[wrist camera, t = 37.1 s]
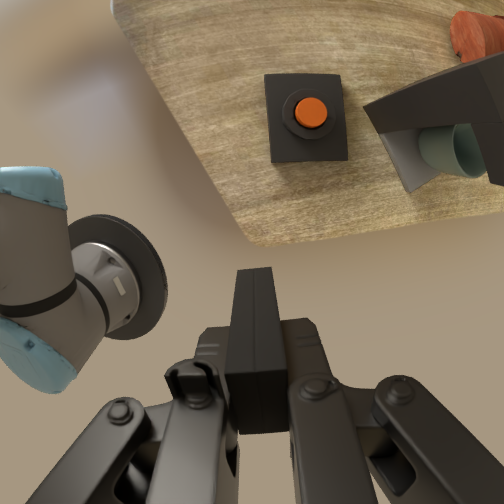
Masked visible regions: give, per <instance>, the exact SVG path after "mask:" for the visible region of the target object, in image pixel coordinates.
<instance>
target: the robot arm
mask: <svg viewBox="0 0 504 504" xmlns="http://www.w3.org/2000/svg"><path fill="white" fill-rule="evenodd" d="M66 210H67V205H66V203H65V195H64V187H63V179H62V177H61V175H60V173H59V172H58V171H57V170H55V169H53V168H49V167H1V168H0V357H1V359H2V360H3V361H4V363H5V364H6V365H7V366H8V367H9V368H10V369H11V370H12V371H13V372H14V373H15V374H16V375H17V376H18V377H19V378H20V379H21V380H23V381H24V382H25V383H27V384H28V385H30V386H31V387H33V388H35V389H37V390H39V391H41V392H44V393H48V394H57V393H61V392H62V391H64V389H65V388H66V387H67V386H68V385H69V383H70V382H71V381H72V380H74V379H75V378H76V377H77V375H78V373H79V372H80V370H81V369H82V367H83V366H84V364H85V363H86V361H87V360H88V359H89V357H90V356H91V354H92V353H93V351H94V350H95V349H96V347H97V346H98V344H99V343H100V342H101V340H102V339H103V337H104V336H105V335H106V334H107V333H109V332H111V331H113V330H115V329H117V328H119V327H121V326H123V325H125V324H127V323H128V322H129V321H130V320H131V319H132V318H133V317H134V315H135V314H136V313H137V311H138V309H139V307H140V305H141V301H142V286H141V281H140V278H139V275H138V273H137V271H136V269H135V267H134V265H133V264H132V262H131V261H130V260H129V258H128V257H127V256H126V255H125V254H124V253H123V252H122V251H120V250H119V249H118V248H116V247H115V246H113V245H111V244H109V243H107V242H103V241H98V240H92V241H87V242H84V243H82V244H81V245H79V246H77V247H76V248H74V249H73V250H72V251H71V247H70V240H69V233H68V224H67V214H66V213H67V212H66ZM164 377H165V379H166V382H167V384H168V387H169V389H170V391H171V394H172V396H173V400H172V401H170V402H167V403H164V404H160V405H155V406H149V407H143V406H142V404H141V403H140V402H139V401H138V400H136V399H134V398H130V397H121V398H116V399H114V400H112V401H109V402H108V403H107V404H106V405H104V406H103V407H102V409H101V410H100V411H99V412H98V413H97V415H96V416H95V417H94V418H93V419H92V421H91V422H90V423H89V424H88V426H87V427H86V428H85V429H84V431H83V432H82V433H81V434H80V435H79V437H78V438H77V439H76V440H75V442H74V443H73V444H72V445H71V447H70V448H69V449H68V450H67V451H66V453H65V454H64V455H63V456H62V458H61V459H60V460H59V461H58V463H57V464H56V465H55V467H54V468H53V469H52V470H51V471H50V473H49V474H48V475H47V476H46V478H45V479H44V480H43V482H42V483H41V484H40V485H39V487H38V488H37V489H36V490H35V492H34V493H33V494H32V495H31V497H30V498H29V499H28V501H27V502H26V503H25V504H238V485H239V457H240V449H239V445H238V441H237V435H238V430H239V434H240V435H246V434H262V433H263V434H264V433H275V432H286V431H289V432H290V453H291V458H292V468H293V478H294V487H295V498H296V504H378V500H377V497H376V494H375V490H374V486H373V482H372V479H371V475H370V473H371V474H372V476H373V477H374V479H375V480H376V482H377V483H378V485H379V486H380V488H381V489H382V491H383V492H384V494H385V495H386V497H387V498H388V500H389V501H390V503H391V504H504V466H503V465H502V464H501V463H500V462H499V461H498V460H497V459H496V458H495V457H494V456H493V455H492V454H491V453H490V452H489V451H488V450H487V449H486V448H485V447H484V446H483V445H482V444H481V443H480V442H479V441H478V440H477V439H476V437H475V436H474V435H473V434H472V433H471V432H470V431H469V430H468V429H467V428H466V427H465V426H464V425H462V423H461V422H460V421H458V419H457V418H456V417H454V416H453V415H452V413H451V412H449V410H447V409H446V408H445V407H444V406H443V405H442V404H441V403H440V402H439V401H438V400H437V399H436V398H435V397H434V396H433V395H432V394H431V393H430V392H429V391H428V390H427V389H426V388H425V387H424V386H423V385H422V384H421V383H420V382H418V381H417V380H415V379H414V378H412V377H408V376H404V375H394V376H390V377H387V378H385V379H383V380H382V381H381V382H379V383H378V385H377V387H376V388H375V389H360V388H352V387H348V386H345V385H343V384H342V383H340V382H339V380H338V379H337V378H335V377H334V376H333V375H332V372H331V370H330V367H329V363H328V360H327V357H326V355H325V351H324V348H323V345H322V344H321V340H320V337H319V334H318V331H317V328H316V325H315V324H314V323H313V322H311V321H310V320H309V319H308V318H300V319H290V320H281V321H280V318H279V311H278V306H277V299H276V293H275V286H274V280H273V274H272V268H271V267H264V268H254V269H244V270H238V271H237V277H236V284H235V292H234V300H233V308H232V315H231V323H230V326H225V327H211V328H207V329H206V330H205V331H204V332H203V333H202V334H201V335H200V337H199V340H198V344H197V348H196V351H195V356H194V358H193V359H185V360H183V361H180V362H178V363H175V364H174V365H173V366H171V367H170V368H169V369H168V370H167V372H166V373H165V375H164ZM369 471H370V472H369Z"/></svg>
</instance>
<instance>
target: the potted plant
mask: <svg viewBox="0 0 504 504" xmlns="http://www.w3.org/2000/svg"><path fill="white" fill-rule="evenodd" d="M450 37H451V42H452V46H453V49H454V51H455V54H456V55H457V56H459V57H460V58H461V60H460V61H462V62H463V63H466V62H469V61H472V60H476V59H479V58H482V57H485V56H488V55H492V54H495V53H498V52H502V51H504V16H498V15H495V16H488V15H484V14H479V13H474V12H469V11H459V12H458V13H456V14H455V16H454V17H453V18H452V21H451V24H450Z"/></svg>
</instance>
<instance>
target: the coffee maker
mask: <svg viewBox="0 0 504 504" xmlns="http://www.w3.org/2000/svg"><path fill="white" fill-rule="evenodd" d="M363 108H364V110H365V112H366V113H367V115H368V117H369V118H370V120H371V122H372V124H373V125H374V127H375V129H376V131H377V133H378V134H379V136H380V138H381V140H382V142H383V144H384V146H385V148H386V150H387V152H388V154H389V156H390V158H391V160H392V162H393V164H394V166H395V168H396V170H397V172H398V175H399V177H400V179H401V181H402V184H403V186H404V188H405V191H406V192H409V193H411V192H413V191H414V190H416V189H417V188H419V187H420V186H422V185H423V184H425V183H427V182H428V181H430V180H431V179H433V178H434V177H436V176H437V175H439V174H440V173H441V172H439V171H436V170H434V169H432V168H431V167H430V166H429V165H427V164H426V162H425V161H424V159H423V158H422V156H421V153H420V151H419V146H418V138H419V134H420V132H421V130H422V129H423V128H426V127H435V126H445V125H457V124H470V123H471V127H472V130H473V132H474V135H475V137H476V140H477V143H478V146H479V148H480V151H481V154H482V157H483V160H484V164H485V167H486V170H487V173H488V177H489V181H490V183H491V184H496V185H500V186H504V51H502V52H498V53H495V54H492V55H488V56H485V57H482V58H479V59H476V60H472V61H469V62H466V63H464V64H461V65H458V66H455V67H452V68H449V69H447V70H444V71H441V72H439V73H436V74H433V75H431V76H428V77H426V78H423V79H421V80H419V81H417V82H414V83H412V84H410V85H408V86H405V87H403V88H401V89H399V90H397V91H394V92H392V93H390V94H388V95H386V96H384V97H382V98H380V99H378V100H376V101H374V102H371V103H369V104H367V105H365V106H363Z"/></svg>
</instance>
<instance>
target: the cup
mask: <svg viewBox="0 0 504 504" xmlns="http://www.w3.org/2000/svg"><path fill="white" fill-rule="evenodd" d="M418 146H419V151H420V153H421V156H422V158H423V159H424V161H425V162H426V164H427V165H429V166H430V167H431V168H432V169H434V170H436V171H439V172H441V173H445V174H449V175H454V176H459V177H465V178H478V177H480V176H482V175H483V174H484V173H485V172H486V171H487V170H486V167H485V164H484V160H483V157H482V154H481V151H480V148H479V146H478V143H477V140H476V137H475V135H474V132H473V130H472V127H471V123H470V124H457V125H445V126H435V127H426V128H423V129H422V130H421V132H420V134H419V138H418Z"/></svg>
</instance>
